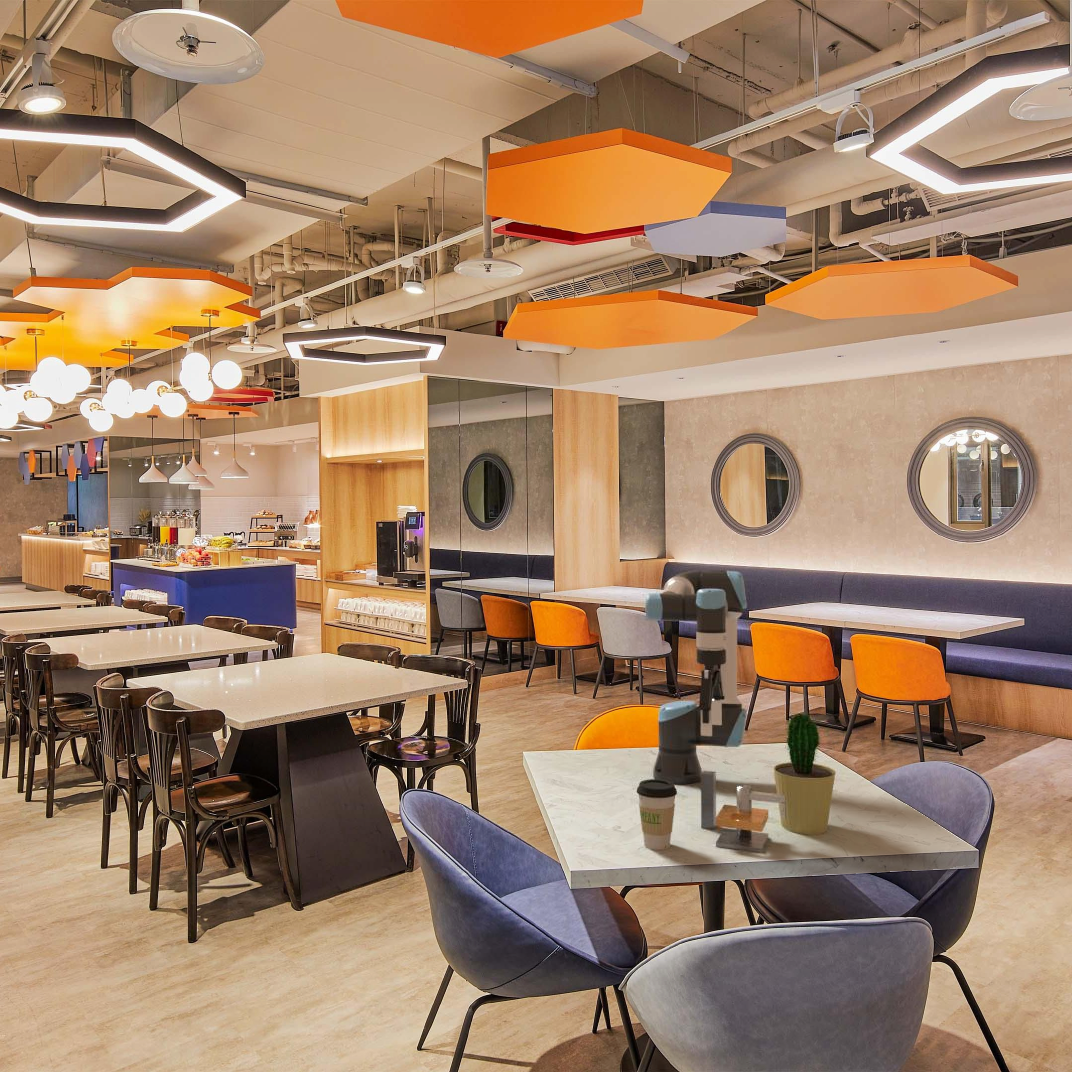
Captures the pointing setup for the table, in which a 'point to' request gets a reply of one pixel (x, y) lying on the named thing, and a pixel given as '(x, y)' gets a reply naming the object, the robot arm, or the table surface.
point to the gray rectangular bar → (708, 799)
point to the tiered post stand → (746, 820)
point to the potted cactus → (804, 780)
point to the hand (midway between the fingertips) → (711, 730)
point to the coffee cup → (656, 812)
